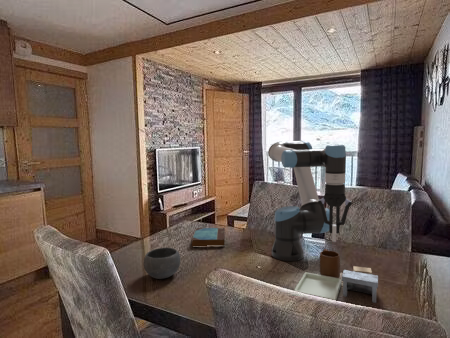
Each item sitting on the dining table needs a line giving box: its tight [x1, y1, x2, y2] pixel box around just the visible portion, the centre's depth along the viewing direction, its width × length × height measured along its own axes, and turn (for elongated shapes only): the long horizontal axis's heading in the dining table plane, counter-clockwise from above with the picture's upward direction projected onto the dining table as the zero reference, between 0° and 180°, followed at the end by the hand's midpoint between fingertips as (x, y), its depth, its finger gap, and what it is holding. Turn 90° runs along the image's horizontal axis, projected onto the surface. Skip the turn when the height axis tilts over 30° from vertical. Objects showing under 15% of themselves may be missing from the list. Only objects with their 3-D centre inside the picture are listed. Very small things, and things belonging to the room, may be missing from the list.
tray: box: [293, 271, 343, 300], centre depth 103 cm, size 14×17×2 cm
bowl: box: [143, 247, 181, 280], centre depth 118 cm, size 15×15×10 cm
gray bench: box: [341, 269, 379, 304], centre depth 100 cm, size 11×9×7 cm
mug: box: [319, 248, 341, 279], centre depth 116 cm, size 12×8×9 cm, turn 175°
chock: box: [352, 265, 373, 275], centre depth 106 cm, size 6×4×6 cm, turn 69°
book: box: [191, 227, 226, 247], centre depth 162 cm, size 23×18×5 cm
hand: (334, 240), depth 115 cm, fingers closed
